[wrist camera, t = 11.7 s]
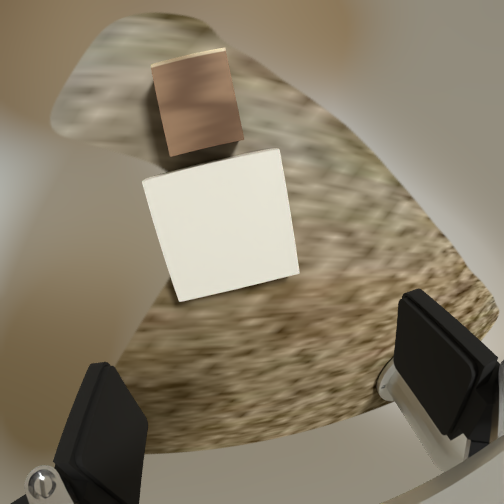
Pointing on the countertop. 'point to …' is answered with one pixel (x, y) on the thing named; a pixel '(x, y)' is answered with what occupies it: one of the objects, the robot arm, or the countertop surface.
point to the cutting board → (224, 223)
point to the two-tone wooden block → (197, 101)
